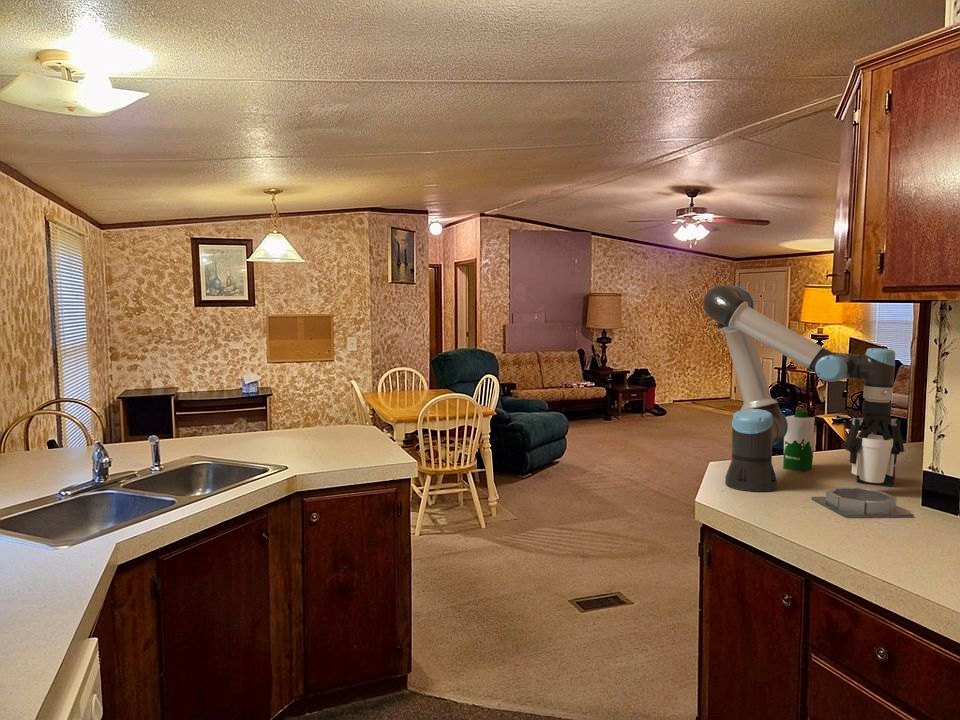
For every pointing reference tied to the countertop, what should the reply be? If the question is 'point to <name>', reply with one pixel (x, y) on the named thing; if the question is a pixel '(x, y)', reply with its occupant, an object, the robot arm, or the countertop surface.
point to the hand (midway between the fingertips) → (872, 474)
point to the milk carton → (799, 442)
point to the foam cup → (874, 458)
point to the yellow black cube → (887, 482)
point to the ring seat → (861, 503)
